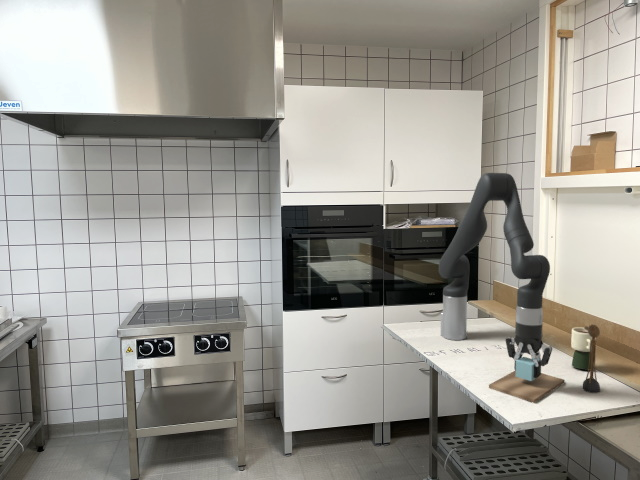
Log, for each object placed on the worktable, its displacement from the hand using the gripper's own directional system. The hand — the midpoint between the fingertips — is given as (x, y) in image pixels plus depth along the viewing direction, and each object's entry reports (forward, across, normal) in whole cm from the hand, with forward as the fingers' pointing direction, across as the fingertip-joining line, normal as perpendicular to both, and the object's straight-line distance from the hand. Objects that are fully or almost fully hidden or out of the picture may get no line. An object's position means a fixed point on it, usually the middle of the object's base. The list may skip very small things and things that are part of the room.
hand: (527, 374), depth 150 cm
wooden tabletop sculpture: (+4, +14, +11) cm, 18 cm away
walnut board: (+3, 0, 0) cm, 3 cm away
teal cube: (+1, 0, 0) cm, 1 cm away
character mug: (+4, +6, +26) cm, 27 cm away
